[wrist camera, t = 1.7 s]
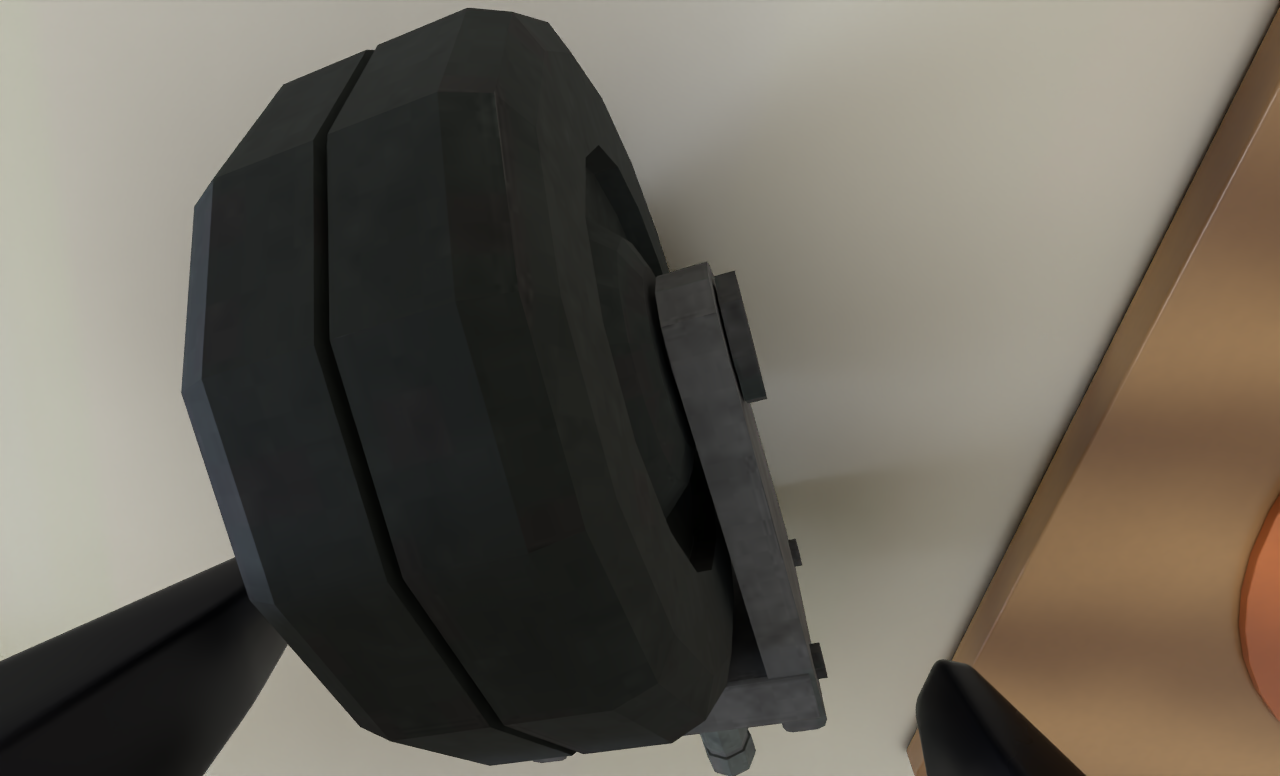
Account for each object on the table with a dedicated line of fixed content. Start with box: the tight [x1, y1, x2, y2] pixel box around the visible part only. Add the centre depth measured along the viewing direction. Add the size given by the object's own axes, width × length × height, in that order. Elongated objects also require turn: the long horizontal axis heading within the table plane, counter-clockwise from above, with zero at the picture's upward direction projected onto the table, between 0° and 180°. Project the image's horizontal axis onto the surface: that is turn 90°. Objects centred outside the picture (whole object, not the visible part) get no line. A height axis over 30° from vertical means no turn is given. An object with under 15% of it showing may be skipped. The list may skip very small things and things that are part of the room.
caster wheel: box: [181, 8, 828, 776], centre depth 10 cm, size 6×10×15 cm
